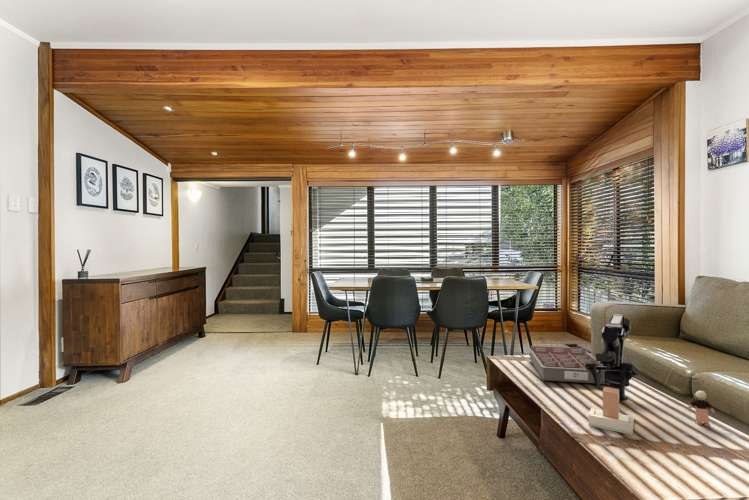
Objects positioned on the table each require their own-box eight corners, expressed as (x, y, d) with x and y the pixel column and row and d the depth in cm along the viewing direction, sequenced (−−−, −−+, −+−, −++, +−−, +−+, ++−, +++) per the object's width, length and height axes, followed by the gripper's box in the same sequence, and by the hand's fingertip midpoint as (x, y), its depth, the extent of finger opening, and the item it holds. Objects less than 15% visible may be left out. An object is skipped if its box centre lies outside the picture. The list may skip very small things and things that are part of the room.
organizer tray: (542, 383, 198) (542, 363, 198) (528, 361, 237) (528, 345, 237) (612, 387, 191) (612, 367, 191) (586, 364, 230) (586, 347, 230)
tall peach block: (604, 417, 154) (604, 386, 154) (619, 420, 152) (619, 389, 152) (602, 422, 149) (602, 391, 150) (618, 425, 147) (618, 393, 147)
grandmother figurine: (710, 423, 151) (710, 390, 151) (715, 427, 147) (715, 393, 147) (686, 420, 153) (686, 388, 153) (691, 424, 150) (690, 391, 150)
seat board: (593, 411, 163) (593, 401, 163) (633, 419, 155) (633, 409, 155) (588, 425, 149) (588, 414, 149) (632, 435, 141) (632, 424, 141)
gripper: (579, 344, 171) (575, 379, 164) (626, 343, 156) (623, 381, 149) (593, 355, 175) (589, 390, 168) (639, 356, 160) (638, 393, 153)
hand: (608, 388), depth 159 cm, fingers open, 9 cm apart
